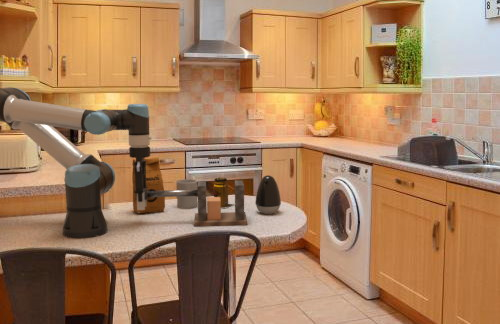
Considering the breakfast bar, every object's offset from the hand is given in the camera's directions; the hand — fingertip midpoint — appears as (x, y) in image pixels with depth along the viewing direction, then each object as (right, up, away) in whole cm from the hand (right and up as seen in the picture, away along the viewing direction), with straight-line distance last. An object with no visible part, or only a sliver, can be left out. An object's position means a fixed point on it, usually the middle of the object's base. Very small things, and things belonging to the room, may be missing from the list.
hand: (141, 208), depth 203 cm
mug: (+14, -2, +29) cm, 32 cm away
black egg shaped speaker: (+48, -3, +15) cm, 50 cm away
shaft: (+10, +3, 0) cm, 11 cm away
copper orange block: (+29, -2, +28) cm, 40 cm away
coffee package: (-1, -3, +19) cm, 19 cm away
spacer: (+27, -4, +3) cm, 27 cm away
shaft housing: (+29, -5, +3) cm, 30 cm away
